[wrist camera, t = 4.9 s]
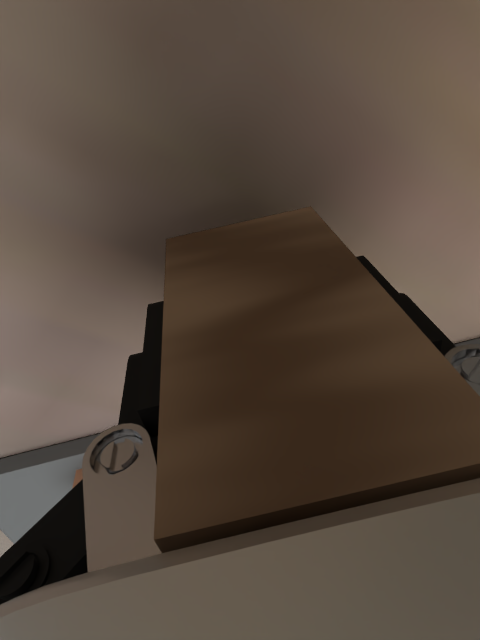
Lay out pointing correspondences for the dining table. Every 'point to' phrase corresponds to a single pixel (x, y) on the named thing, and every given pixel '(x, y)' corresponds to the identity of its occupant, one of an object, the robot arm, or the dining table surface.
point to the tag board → (44, 481)
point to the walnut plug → (294, 386)
